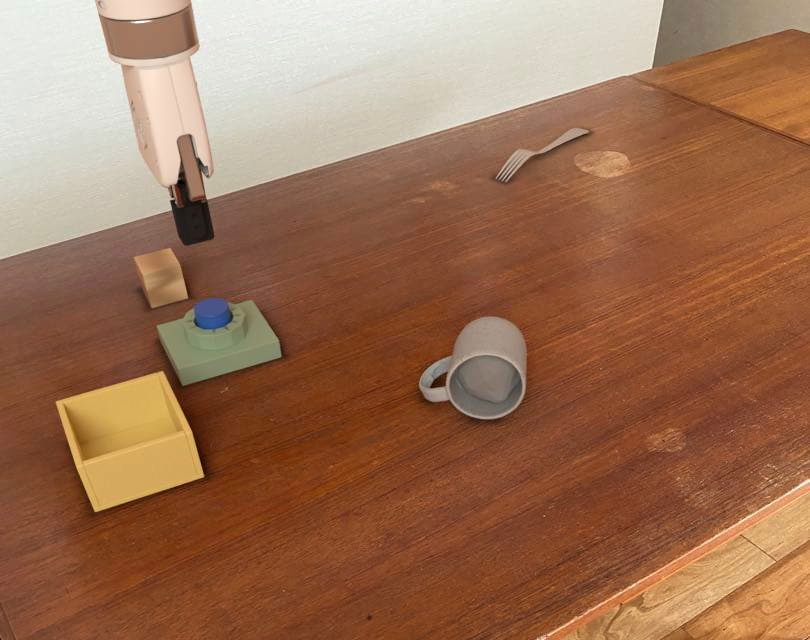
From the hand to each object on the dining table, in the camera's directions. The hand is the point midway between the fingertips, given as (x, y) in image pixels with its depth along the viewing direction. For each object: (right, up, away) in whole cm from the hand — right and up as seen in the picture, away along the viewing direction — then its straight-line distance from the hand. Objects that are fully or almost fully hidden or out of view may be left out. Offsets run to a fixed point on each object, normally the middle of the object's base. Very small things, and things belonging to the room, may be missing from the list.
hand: (197, 238), depth 85 cm
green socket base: (0, -9, +9) cm, 13 cm away
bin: (-5, -22, -3) cm, 23 cm away
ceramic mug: (+27, -15, +3) cm, 31 cm away
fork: (+41, +26, +41) cm, 63 cm away
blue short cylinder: (0, -6, +7) cm, 9 cm away
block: (-8, -1, +18) cm, 19 cm away
